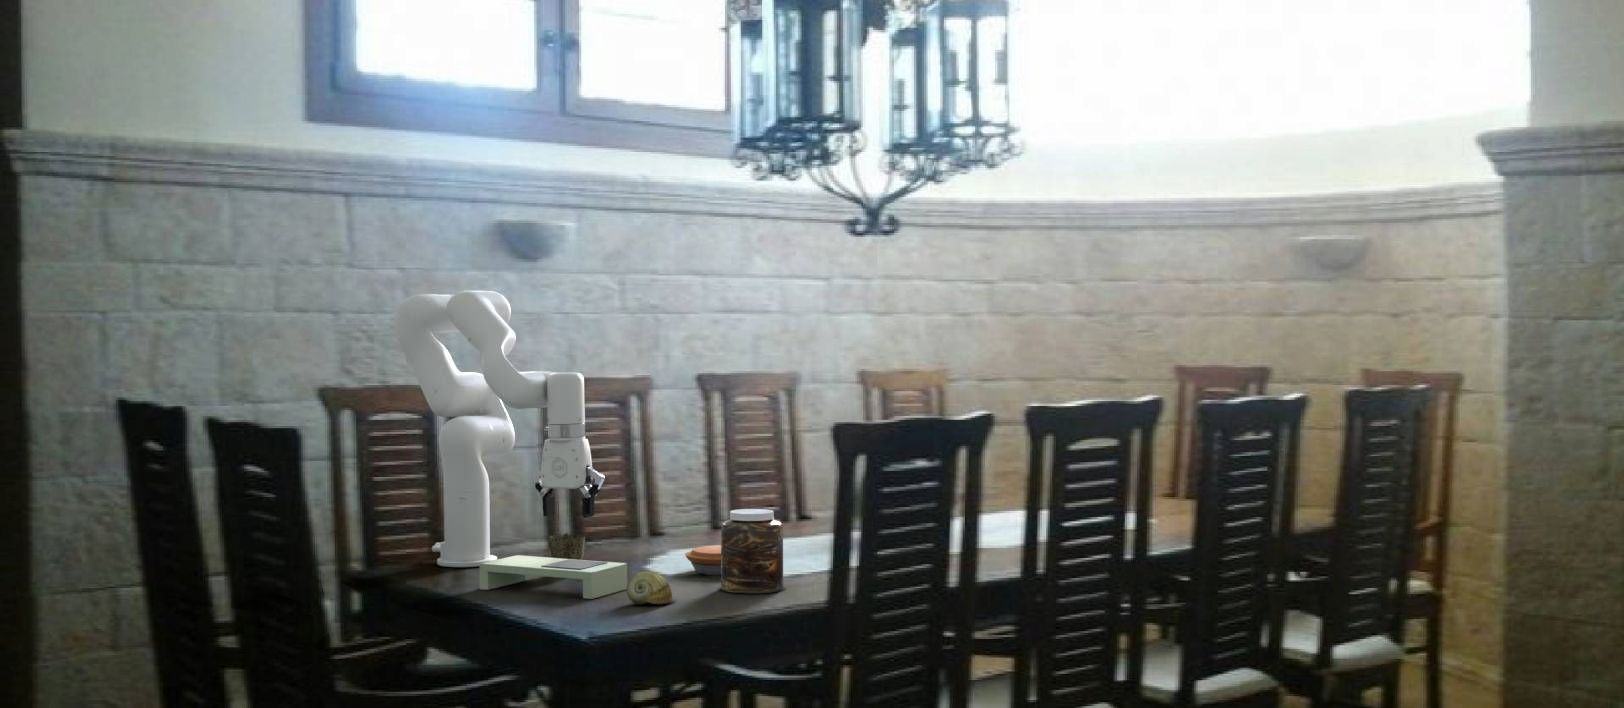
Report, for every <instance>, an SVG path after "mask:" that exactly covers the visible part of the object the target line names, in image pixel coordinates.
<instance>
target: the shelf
mask: <svg viewBox="0 0 1624 708" xmlns="http://www.w3.org/2000/svg"><path fill="white" fill-rule="evenodd" d="M478 567H479V573H478V574H479V575H478V577H479V590H483V591H484V590H485V591H489V590H493V589H497V588H502V587H505V586H509V585H513V584H517V583H522V582H526V576H536V577H548V578H557V579H558V578H560V579H571V580H582V599H587V600H593V599H597V598H600V597H604V596H607V595H611V594H614V593H618V592H622V591H625V590H627V585H628V563H627V562H615V561H602V560H600V561H599V560H586V559H582V560H575V559H562V558H551V557H547V556H533V555H522V554H521V555H520V554H519V555H518V554H516V555H511V556H508V557H503V558H497V560H493V561H489V562H484V563H480V564H479V566H478Z"/></svg>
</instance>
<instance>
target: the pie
mask: <svg viewBox="0 0 1624 708" xmlns="http://www.w3.org/2000/svg"><path fill="white" fill-rule="evenodd" d="M684 554H685V558H686V559H687V560H688V561H689V562H690V563H691V565H692V568H693V569H694V571H695V572H696V573H698V574H702V575H709V576H721V544H715V545H704V546H698V547H694V548H693V549H691V550H690V551H688V552H685V553H684Z"/></svg>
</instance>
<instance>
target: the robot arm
mask: <svg viewBox="0 0 1624 708" xmlns="http://www.w3.org/2000/svg"><path fill="white" fill-rule="evenodd" d="M511 315H512V309H511V306H510V303H509V301H508V300H507V298H506V297H505V296H504V295H503V294H501V293H499V292H497V291H494V290H493V291H492V290H462V291H459V292H457V293H455V294H440V293H439V294H438V293H437V294H436V293H434V294H433V293H421V294H414V295H411V296H408V297H406V298H404V299H403V300H402V301H401V302H400V303H399V304H398V306H397V308H396V310H395V313H394V318H393V319H394V320H393V330H394V335H395V338H396V341H397V344H398V345H399V347H400V349H401V351H402V353H403V354H404V356H405V358H406V359H407V360H408V361H407V362H409V364H410V366H411V368H412V371H413V372H414V376H415V378H416V380H417V382H418V384H419V387H420V389H421V391H422V393H423V396H424V398H425V400H426V402H427V404H428V406H429V409H430V410H431V411H432V413H434V414H435V415H436V416H438V417H443V418H450V419H449V420H448V421H446V422H445V423H444V424H443V425H442V426H441V428H440V430H439V434H438V447H439V452H440V457H441V463H442V472H443V473H442V474H443V520H444V521H443V523H444V525H443V529H444V530H443V531H444V533H443V535H444V537H443V538H444V541H441V542H436V543H434V545H432V547H431V551H432V552H433V553H440V556H439V557H438V558H437V559H436V565H438V566H439V567H444V568H445V567H446V568H477V567H479V564H480V563H484V562H489V561H493V560H498V556H496V555H494V554H491V539H490V538H491V527H490V526H491V525H490V524H491V522H490V521H491V519H490V518H491V517H490V515H491V512H490V505H491V504H490V501H491V499H490V479H489V474H488V471H487V470H486V467H485V465H484V462H483V460H489V459H497V458H502V457H505V456H506V455H508V454H509V453H510V452H511V451H512V450H513V448H514V446H515V442H516V433H515V428H514V425H513V422H512V420H511V418H510V416H509V413H508V411H507V409H506V408H505V405H506V406H507V407H509V408H512V409H516V410H524V409H543V408H547V426H545V427H544V428H543V432H544V434H547V439H545V440H544V443H543V447H542V453H541V454H542V455H541V466H540V469H539V470H538V471H536V472H535V473H533V474H532V475H531V479H532V481H533V482H532V483H533V484H534V488H535V489H536V490H537V492H538V493H539V496H540V497H541V498H542V514H543V515H542V516H544V517H551V516H554V515H555V514H556V497H555V495H553V493H554V492H555V490H556V489H557V490H563V489H566V490H575V489H579V491H580V492H581V493H582V495H583V496H584V497H582V499H581V502H582V503H581V504H582V505H581V506H582V508H581V509H582V511H581V512H582V517H583V518H585V519H586V518H593V517H594V516H595V509H596V508H595V507H596V506H595V505H596V504H595V497H597V495H598V493H599V492H600V491H601V489H602V486H603V484H604V482H605V479H606V477H605V475H604V474H602V473H601V472H599V471H597V470H596V469H594V467H593V461H592V453H591V452H592V451H591V447H590V443H589V439H588V438H586V406H585V403H586V402H585V378H584V375H582V373H581V372H575V371H569V372H568V371H567V372H565V371H564V372H563V371H562V372H553V371H518V369H516V368H515V367H514V365H512V363H511V362H510V361H509V360H508V359H507V356H508V355H509V353H510V352H512V349H513V348H514V346H515V345H516V341H517V336H516V333H515V331H514V330H513V329H512V328H511V327H510V326H509V325H508V323H509V322H510V320H511ZM434 334H461V335H462V337H464V338H465V340H466V341H467V342H468V343H469V344H470V345H471V346H472V347H473V349H474V350H475V352H477V353H478V354H479V356H480V357H481V371H482V373H479V372H462V371H459V369H458V368H457V366H456V364H455V362H454V360H453V358H452V355H451V354H450V352H449V350H448V349H447V348H446V346H444V344H442V342H440V340H438V339H437V338H436V337H435V336H434ZM451 418H452V419H451ZM593 479H594V483H593ZM592 484H593V485H592Z"/></svg>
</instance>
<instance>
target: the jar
mask: <svg viewBox="0 0 1624 708" xmlns="http://www.w3.org/2000/svg"><path fill="white" fill-rule="evenodd" d="M783 529H784V528H783V524H782V522H781V521H779V520H776V519H775V512H774V510H771V509H763V508H741V509H739V508H738V509H732V510H730V511H729V519H728V520H725V521H723V522H722V524H721V530H720V531H721V532H720V545H721V575H720V583H721V584H720V587H721V590H722V591H723V592H727V593H733V594H750V595H756V594H770V593H777V592H780V591H782V590H783V589H784V532H783V531H784V530H783Z"/></svg>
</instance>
